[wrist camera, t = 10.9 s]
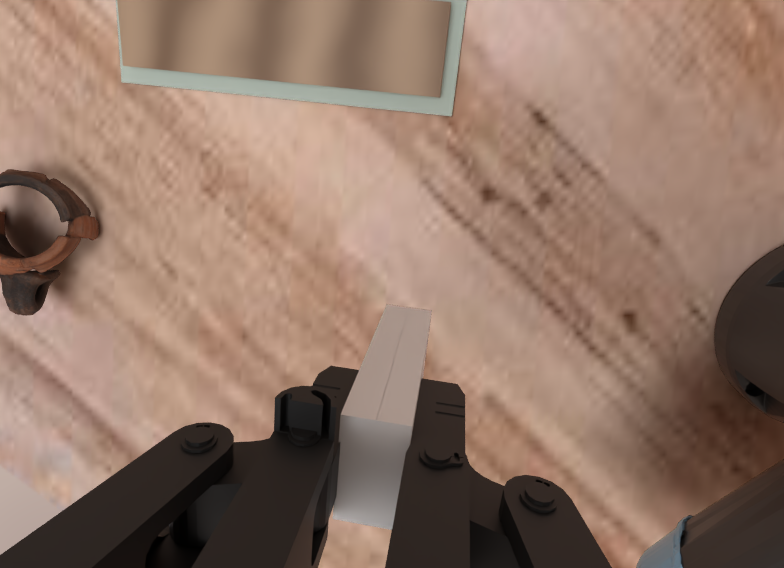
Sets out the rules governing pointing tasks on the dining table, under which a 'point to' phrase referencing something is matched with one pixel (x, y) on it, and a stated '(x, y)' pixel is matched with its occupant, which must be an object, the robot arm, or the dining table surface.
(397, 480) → the robot arm
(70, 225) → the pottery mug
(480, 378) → the dining table surface
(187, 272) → the dining table surface
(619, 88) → the dining table surface
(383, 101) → the underlay mat
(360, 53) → the plank
